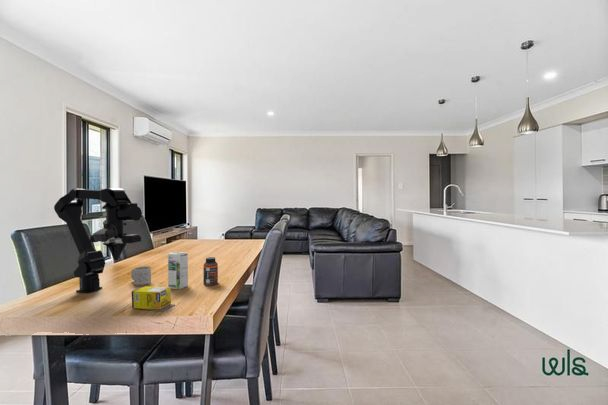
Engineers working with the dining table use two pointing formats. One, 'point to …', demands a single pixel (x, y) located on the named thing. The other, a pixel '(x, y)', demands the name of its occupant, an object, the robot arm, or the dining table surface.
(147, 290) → the supplement box
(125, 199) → the robot arm
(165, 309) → the mat
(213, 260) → the supplement bottle
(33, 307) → the dining table surface
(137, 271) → the grey box
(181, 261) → the syrup box
